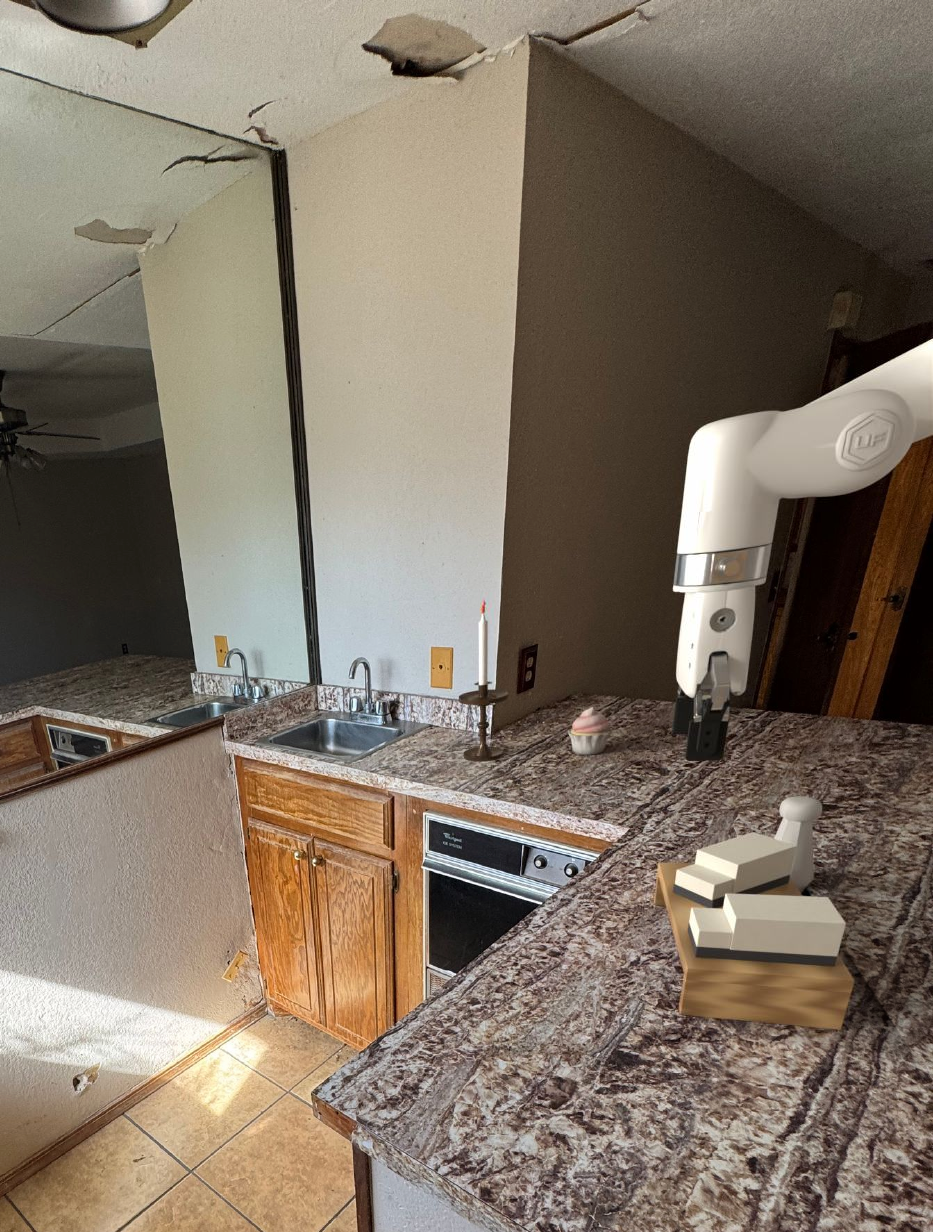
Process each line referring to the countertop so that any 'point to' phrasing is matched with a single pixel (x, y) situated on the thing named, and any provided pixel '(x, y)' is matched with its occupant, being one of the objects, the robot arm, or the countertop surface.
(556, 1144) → the countertop surface
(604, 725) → the cupcake
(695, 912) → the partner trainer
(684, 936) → the shoe shelf
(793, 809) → the salt shaker
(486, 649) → the candlestick
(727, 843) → the trainer
